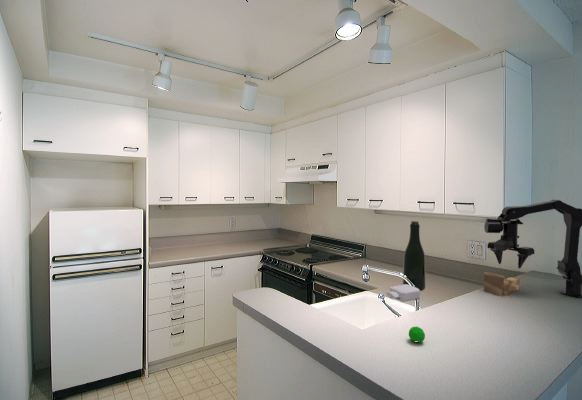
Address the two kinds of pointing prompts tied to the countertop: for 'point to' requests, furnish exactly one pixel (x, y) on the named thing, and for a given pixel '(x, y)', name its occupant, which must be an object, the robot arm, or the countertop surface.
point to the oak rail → (512, 283)
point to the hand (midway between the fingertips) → (509, 266)
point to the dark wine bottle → (415, 259)
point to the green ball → (416, 334)
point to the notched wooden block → (495, 284)
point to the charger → (403, 293)
